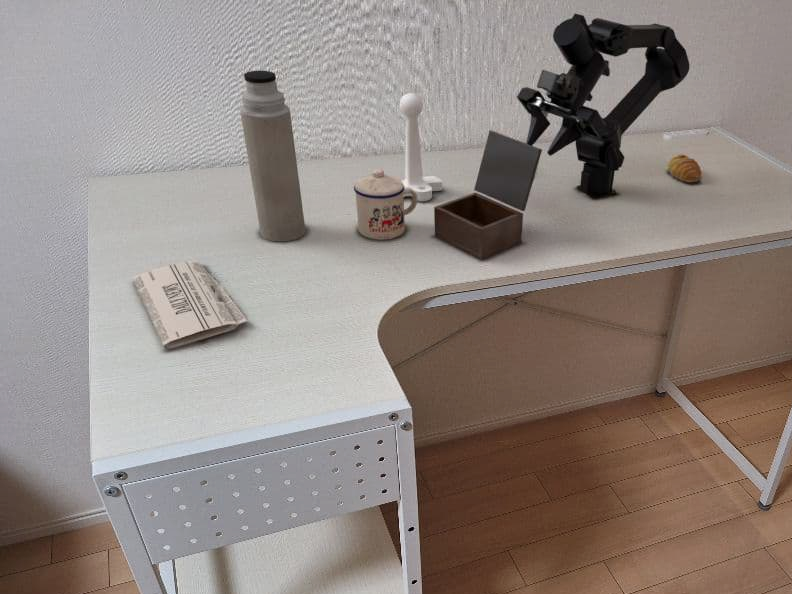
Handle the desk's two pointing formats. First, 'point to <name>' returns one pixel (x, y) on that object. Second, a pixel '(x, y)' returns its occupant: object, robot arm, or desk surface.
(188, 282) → the newspaper
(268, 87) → the thermos bottle
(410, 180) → the joystick
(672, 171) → the pastry
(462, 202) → the wooden box
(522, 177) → the dark grey flat tile
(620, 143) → the robot arm
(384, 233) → the teacup with lid
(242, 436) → the desk surface
